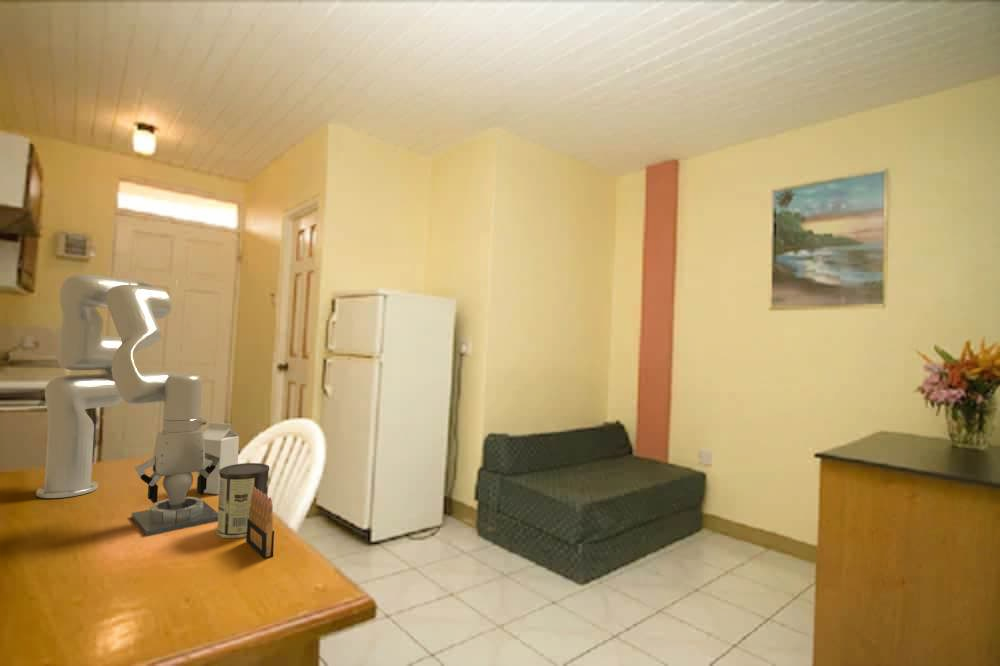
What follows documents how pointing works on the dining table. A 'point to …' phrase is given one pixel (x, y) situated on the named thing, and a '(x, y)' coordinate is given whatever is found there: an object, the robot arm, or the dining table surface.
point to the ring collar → (174, 516)
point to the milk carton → (219, 451)
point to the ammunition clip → (261, 524)
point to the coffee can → (238, 496)
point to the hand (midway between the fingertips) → (177, 497)
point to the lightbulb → (177, 488)
